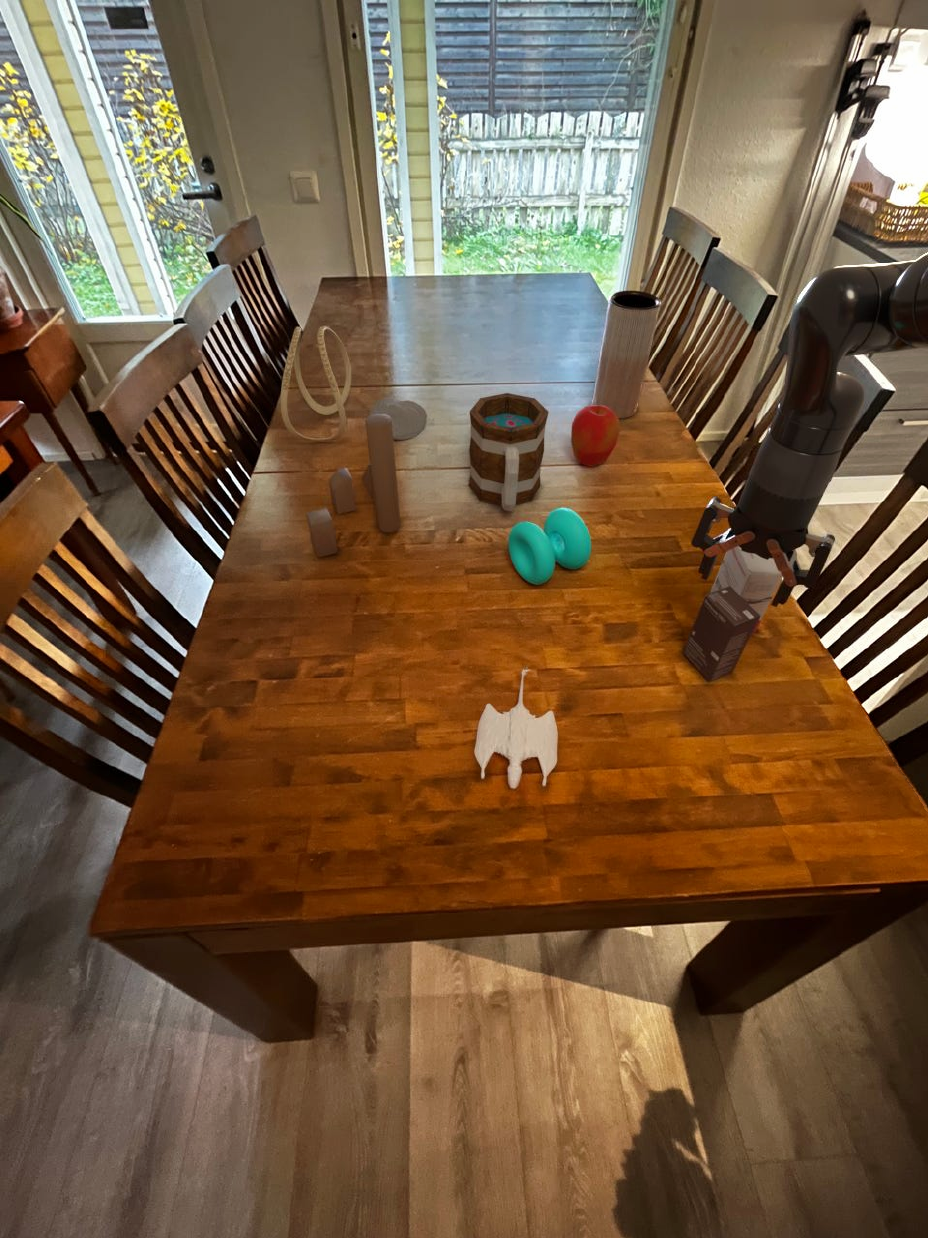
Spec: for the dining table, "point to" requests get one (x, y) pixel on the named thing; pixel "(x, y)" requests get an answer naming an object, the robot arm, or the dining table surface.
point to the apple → (594, 434)
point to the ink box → (749, 578)
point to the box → (720, 633)
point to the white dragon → (517, 738)
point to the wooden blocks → (376, 479)
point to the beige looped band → (294, 355)
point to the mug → (506, 449)
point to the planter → (625, 350)
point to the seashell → (402, 416)
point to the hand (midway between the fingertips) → (740, 589)
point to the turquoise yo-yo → (549, 545)
